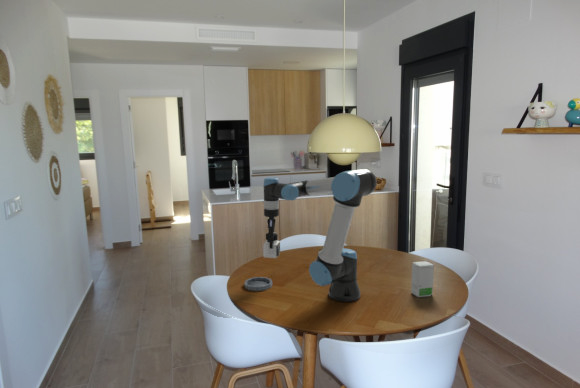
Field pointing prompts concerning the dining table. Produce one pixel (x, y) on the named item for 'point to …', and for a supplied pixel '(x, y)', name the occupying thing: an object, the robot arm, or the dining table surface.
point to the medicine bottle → (276, 247)
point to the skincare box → (422, 279)
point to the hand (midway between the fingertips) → (271, 251)
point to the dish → (258, 283)
